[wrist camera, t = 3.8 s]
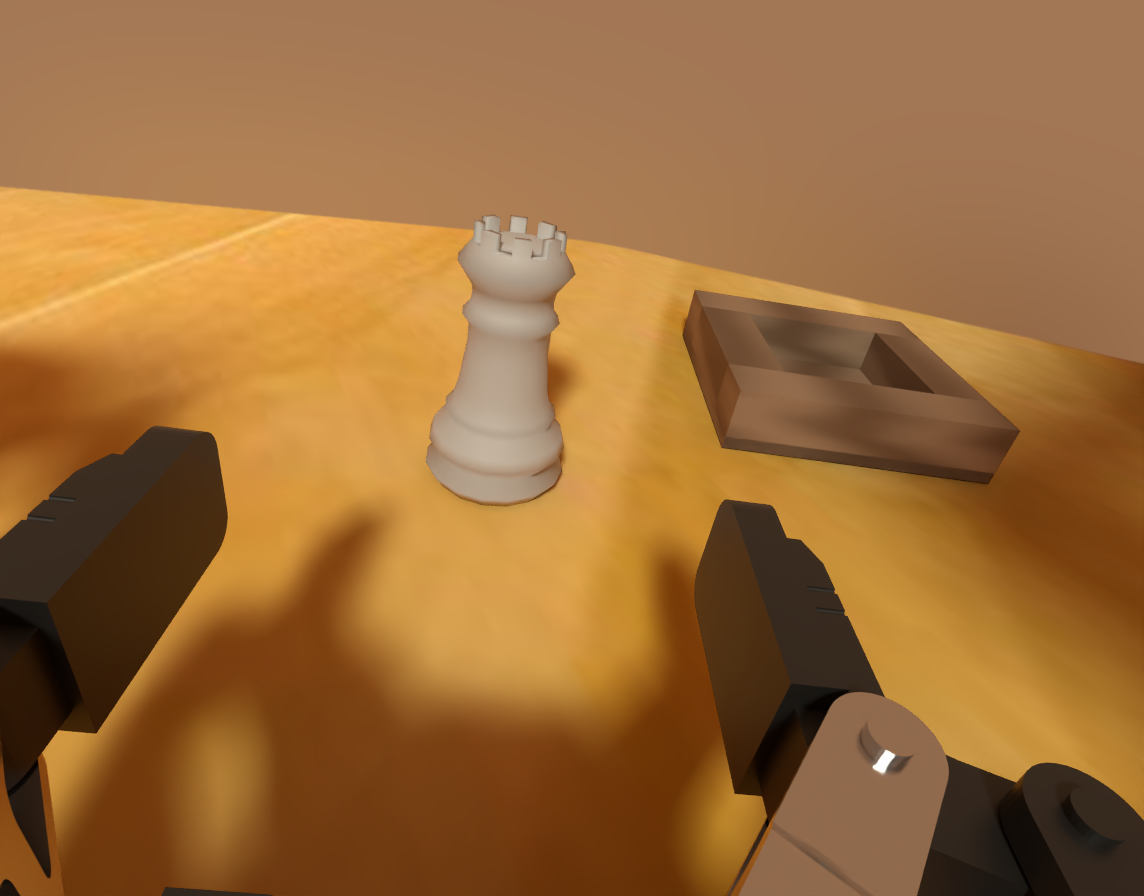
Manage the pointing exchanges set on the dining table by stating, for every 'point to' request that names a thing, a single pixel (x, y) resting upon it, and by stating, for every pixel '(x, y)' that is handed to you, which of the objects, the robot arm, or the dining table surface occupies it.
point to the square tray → (838, 390)
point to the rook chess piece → (504, 369)
